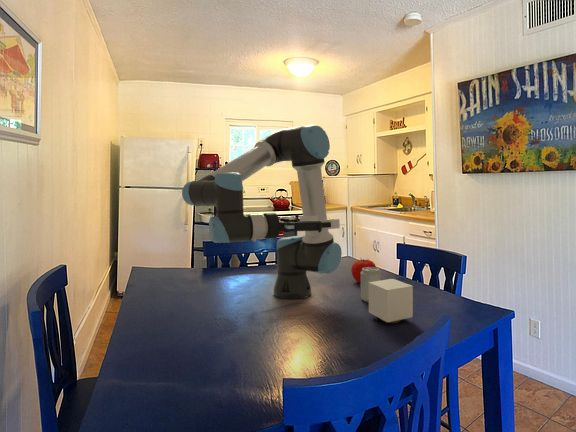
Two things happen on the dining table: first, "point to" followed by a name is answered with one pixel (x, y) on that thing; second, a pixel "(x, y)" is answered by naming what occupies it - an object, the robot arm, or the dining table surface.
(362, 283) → the can
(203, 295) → the dining table surface
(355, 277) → the tomato
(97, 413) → the dining table surface
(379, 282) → the cream rounded cube
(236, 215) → the robot arm
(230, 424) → the dining table surface
